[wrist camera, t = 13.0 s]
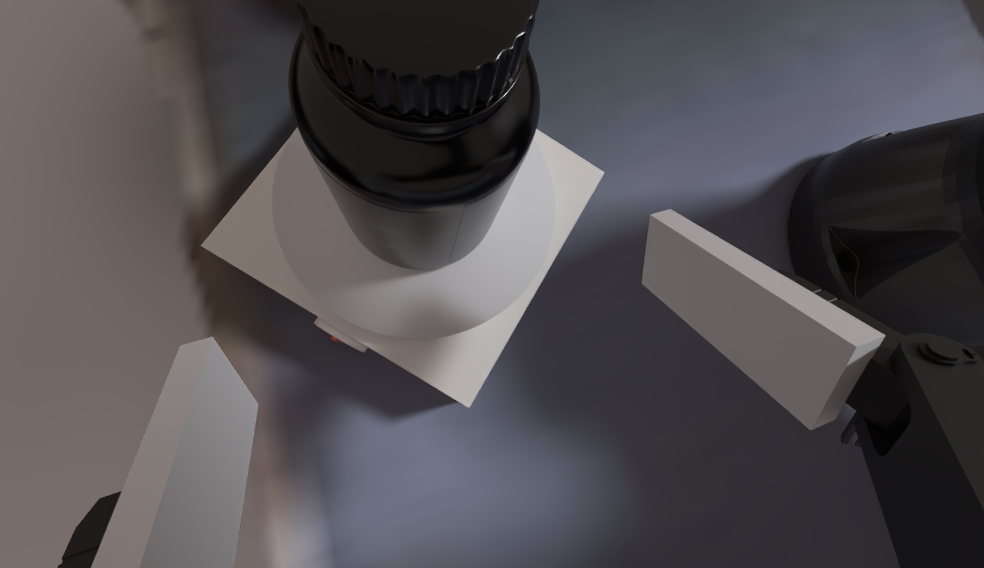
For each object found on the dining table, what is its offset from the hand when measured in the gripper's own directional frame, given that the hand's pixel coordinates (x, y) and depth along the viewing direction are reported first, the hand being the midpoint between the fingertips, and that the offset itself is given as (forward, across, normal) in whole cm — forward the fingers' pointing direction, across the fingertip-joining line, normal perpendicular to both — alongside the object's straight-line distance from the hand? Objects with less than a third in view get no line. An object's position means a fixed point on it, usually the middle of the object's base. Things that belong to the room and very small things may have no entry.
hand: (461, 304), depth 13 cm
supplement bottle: (+9, 0, 0) cm, 9 cm away
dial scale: (+12, 0, -3) cm, 12 cm away
